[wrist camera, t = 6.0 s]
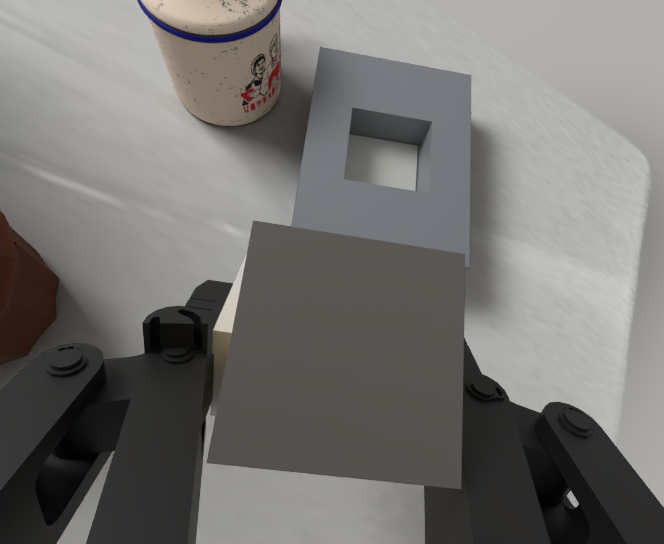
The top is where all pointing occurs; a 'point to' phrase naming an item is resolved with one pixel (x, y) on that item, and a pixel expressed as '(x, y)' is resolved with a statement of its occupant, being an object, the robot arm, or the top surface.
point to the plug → (345, 360)
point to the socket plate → (387, 153)
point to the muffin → (23, 294)
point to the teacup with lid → (220, 55)
